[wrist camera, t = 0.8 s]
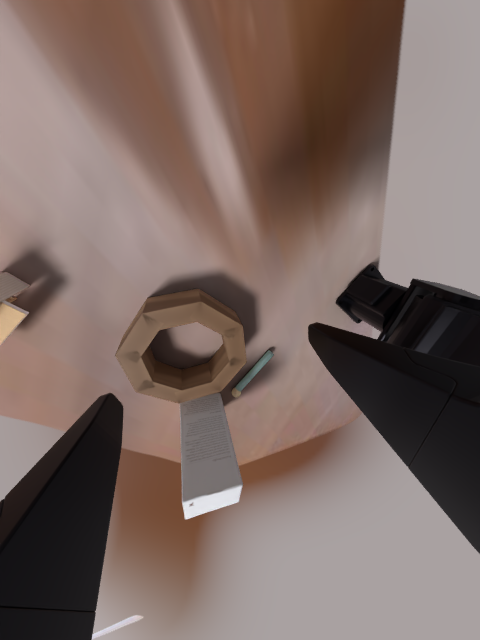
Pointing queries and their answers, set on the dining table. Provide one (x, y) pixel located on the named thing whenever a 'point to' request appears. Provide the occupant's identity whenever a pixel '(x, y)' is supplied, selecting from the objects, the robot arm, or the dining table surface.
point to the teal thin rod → (252, 373)
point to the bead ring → (166, 378)
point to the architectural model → (4, 315)
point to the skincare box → (207, 457)
